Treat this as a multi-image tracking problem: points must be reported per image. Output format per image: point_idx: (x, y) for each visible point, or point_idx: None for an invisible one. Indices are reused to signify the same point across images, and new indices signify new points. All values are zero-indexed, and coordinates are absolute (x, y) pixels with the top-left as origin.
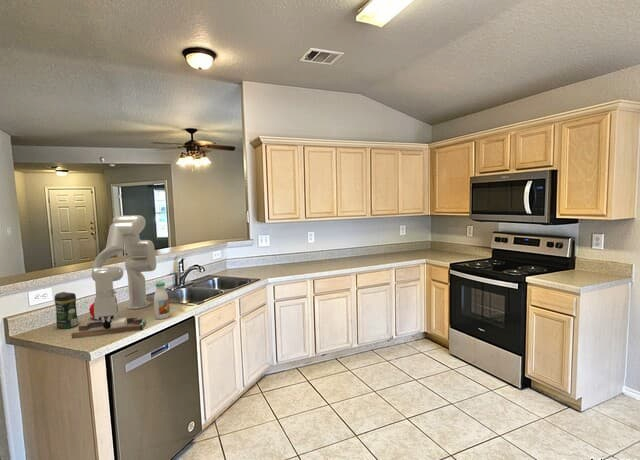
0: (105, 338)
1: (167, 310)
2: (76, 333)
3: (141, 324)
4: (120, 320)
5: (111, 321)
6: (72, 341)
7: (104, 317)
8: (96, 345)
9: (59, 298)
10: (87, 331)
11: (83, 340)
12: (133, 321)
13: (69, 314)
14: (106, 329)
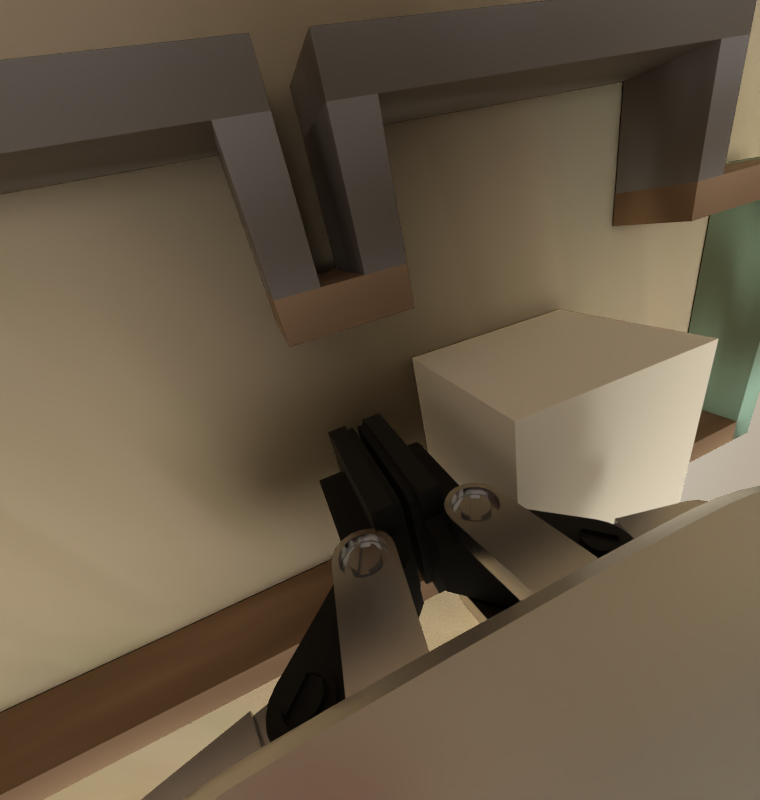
0: (443, 619)
1: None
2: (24, 797)
3: (748, 411)
4: (634, 481)
5: (269, 119)
6: (115, 768)
7: (398, 641)
8: None
9: None
10: (190, 716)
11: (242, 710)
12: (677, 220)
13: None
14: (436, 593)
